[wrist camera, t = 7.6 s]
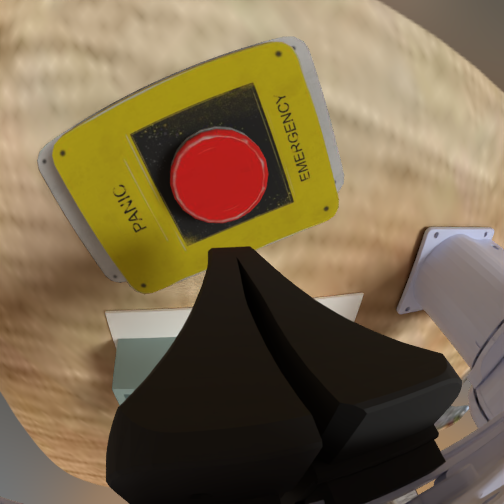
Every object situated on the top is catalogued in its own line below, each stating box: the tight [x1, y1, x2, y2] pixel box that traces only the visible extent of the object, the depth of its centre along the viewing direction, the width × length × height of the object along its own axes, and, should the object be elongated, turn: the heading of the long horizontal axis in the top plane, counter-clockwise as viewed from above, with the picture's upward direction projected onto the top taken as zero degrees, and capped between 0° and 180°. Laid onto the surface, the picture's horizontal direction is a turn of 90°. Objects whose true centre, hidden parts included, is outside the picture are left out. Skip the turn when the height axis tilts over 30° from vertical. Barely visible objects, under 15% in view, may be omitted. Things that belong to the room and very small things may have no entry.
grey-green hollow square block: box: [112, 337, 176, 405], centre depth 20 cm, size 6×6×4 cm
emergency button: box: [37, 37, 344, 294], centre depth 14 cm, size 9×4×15 cm
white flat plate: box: [105, 292, 364, 350], centre depth 23 cm, size 18×11×1 cm, turn 86°
